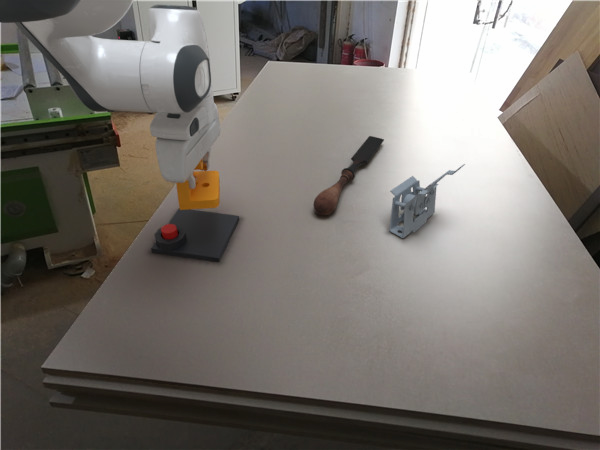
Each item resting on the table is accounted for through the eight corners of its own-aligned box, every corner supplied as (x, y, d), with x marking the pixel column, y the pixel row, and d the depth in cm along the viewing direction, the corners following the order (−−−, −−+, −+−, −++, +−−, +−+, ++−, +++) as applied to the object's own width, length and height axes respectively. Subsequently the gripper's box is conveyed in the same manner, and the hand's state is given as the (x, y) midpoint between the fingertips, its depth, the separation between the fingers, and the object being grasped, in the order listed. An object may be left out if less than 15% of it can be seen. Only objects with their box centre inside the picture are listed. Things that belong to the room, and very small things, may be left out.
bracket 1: (219, 211, 77) (213, 155, 70) (180, 213, 76) (170, 157, 69) (220, 181, 86) (214, 128, 78) (185, 183, 85) (176, 129, 77)
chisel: (308, 216, 92) (309, 198, 89) (368, 141, 123) (370, 126, 120) (328, 222, 90) (330, 204, 87) (384, 145, 121) (386, 130, 118)
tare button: (174, 240, 80) (172, 234, 79) (159, 238, 80) (158, 232, 79) (180, 231, 82) (179, 224, 81) (166, 229, 83) (164, 222, 82)
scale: (219, 262, 79) (217, 251, 78) (152, 252, 81) (149, 241, 79) (239, 219, 90) (238, 209, 88) (179, 212, 92) (177, 201, 90)
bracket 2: (417, 247, 85) (433, 187, 75) (378, 226, 90) (389, 167, 81) (446, 221, 92) (465, 164, 83) (409, 203, 97) (423, 147, 88)
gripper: (193, 86, 78) (201, 151, 87) (143, 131, 62) (160, 204, 71) (225, 89, 77) (230, 154, 86) (183, 136, 61) (194, 209, 70)
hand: (198, 177), depth 78 cm, fingers closed on bracket 1, 5 cm apart
